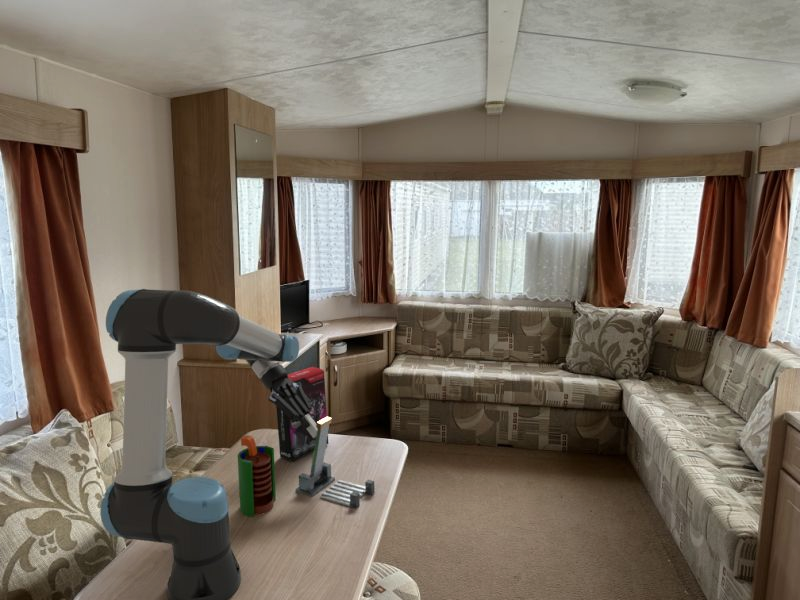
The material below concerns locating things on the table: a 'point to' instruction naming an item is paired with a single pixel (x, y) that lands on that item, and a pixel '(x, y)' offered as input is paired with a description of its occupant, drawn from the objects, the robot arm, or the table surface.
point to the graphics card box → (292, 433)
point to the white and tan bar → (320, 448)
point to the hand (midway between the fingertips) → (317, 434)
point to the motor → (256, 478)
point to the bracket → (334, 488)
